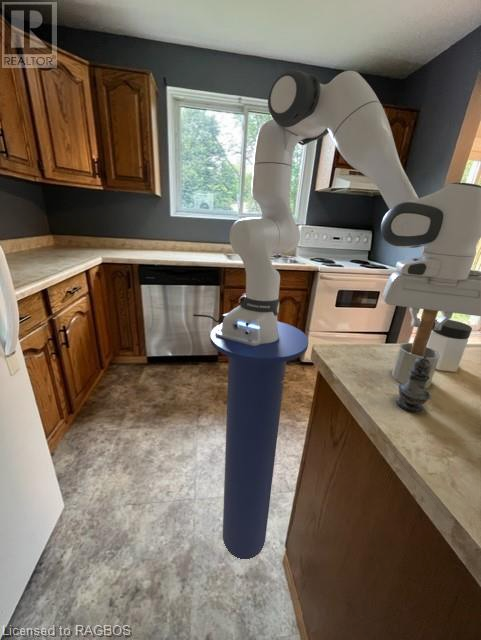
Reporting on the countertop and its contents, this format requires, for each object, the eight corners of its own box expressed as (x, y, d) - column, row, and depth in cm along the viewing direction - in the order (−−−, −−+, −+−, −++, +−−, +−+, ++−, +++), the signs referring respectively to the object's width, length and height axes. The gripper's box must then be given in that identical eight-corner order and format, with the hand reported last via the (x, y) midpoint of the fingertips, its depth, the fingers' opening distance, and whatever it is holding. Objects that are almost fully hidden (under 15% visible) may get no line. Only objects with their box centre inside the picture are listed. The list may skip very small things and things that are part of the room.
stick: (406, 372, 66) (428, 301, 59) (403, 367, 68) (424, 298, 62) (419, 374, 65) (443, 303, 59) (416, 369, 68) (438, 300, 61)
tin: (395, 384, 65) (404, 354, 62) (389, 368, 72) (396, 340, 69) (434, 391, 62) (445, 361, 60) (423, 374, 70) (432, 346, 67)
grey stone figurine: (388, 401, 58) (402, 351, 54) (403, 393, 61) (417, 345, 57) (416, 418, 53) (434, 364, 49) (431, 408, 56) (449, 357, 52)
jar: (448, 359, 79) (461, 320, 74) (465, 373, 71) (481, 331, 67) (415, 355, 80) (426, 317, 76) (429, 369, 72) (442, 327, 68)
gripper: (494, 270, 58) (471, 330, 63) (389, 261, 63) (375, 316, 68) (512, 275, 52) (485, 340, 57) (395, 265, 58) (379, 325, 62)
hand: (425, 327), depth 63 cm, fingers closed on stick, 3 cm apart
